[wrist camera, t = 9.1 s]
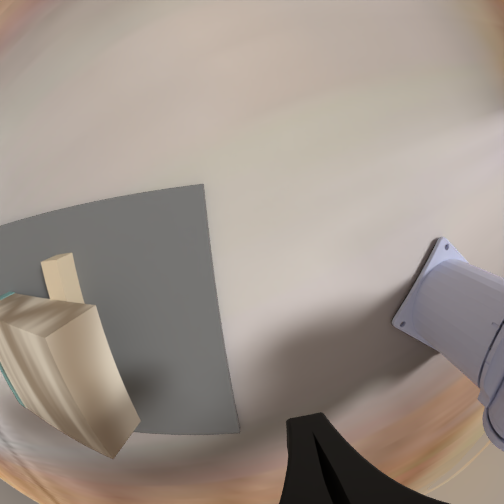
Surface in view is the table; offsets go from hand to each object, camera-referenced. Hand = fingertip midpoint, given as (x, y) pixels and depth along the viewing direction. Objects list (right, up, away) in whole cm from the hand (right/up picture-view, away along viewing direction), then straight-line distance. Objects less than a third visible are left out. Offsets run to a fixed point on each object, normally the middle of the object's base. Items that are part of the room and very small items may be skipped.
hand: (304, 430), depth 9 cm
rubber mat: (-14, 0, +9) cm, 17 cm away
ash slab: (-10, -1, +3) cm, 11 cm away
